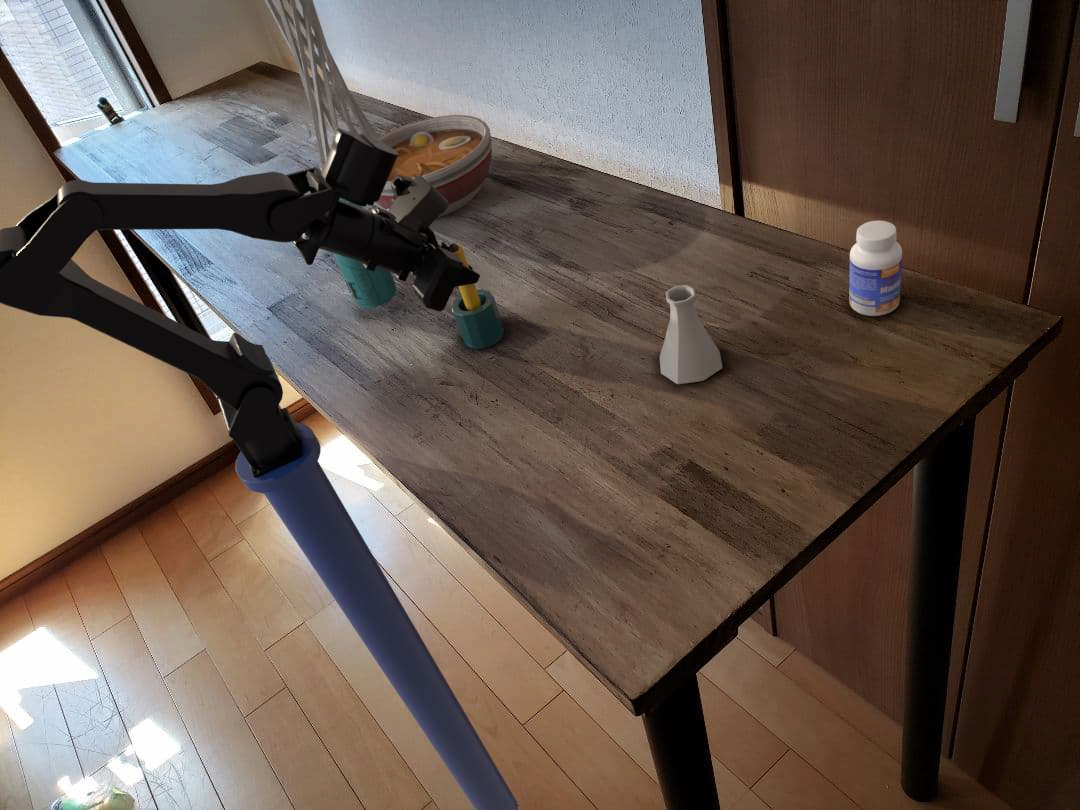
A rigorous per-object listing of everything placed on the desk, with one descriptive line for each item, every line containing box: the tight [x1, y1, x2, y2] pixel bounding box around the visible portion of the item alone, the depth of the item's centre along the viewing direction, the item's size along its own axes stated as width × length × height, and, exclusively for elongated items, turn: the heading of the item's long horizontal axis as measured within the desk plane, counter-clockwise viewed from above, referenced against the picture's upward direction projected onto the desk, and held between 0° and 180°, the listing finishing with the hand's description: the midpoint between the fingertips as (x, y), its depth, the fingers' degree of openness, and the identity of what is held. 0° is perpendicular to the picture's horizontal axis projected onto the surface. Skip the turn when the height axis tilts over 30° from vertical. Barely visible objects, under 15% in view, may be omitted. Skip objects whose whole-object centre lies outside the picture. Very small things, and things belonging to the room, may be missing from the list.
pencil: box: [448, 242, 482, 311], centre depth 104 cm, size 2×2×12 cm
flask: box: [659, 284, 723, 385], centre depth 93 cm, size 7×7×10 cm
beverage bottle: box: [332, 198, 397, 309], centre depth 115 cm, size 6×7×20 cm
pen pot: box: [450, 289, 505, 350], centre depth 108 cm, size 5×5×6 cm
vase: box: [263, 0, 380, 172], centre depth 153 cm, size 14×13×35 cm
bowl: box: [375, 114, 493, 219], centre depth 138 cm, size 23×23×10 cm
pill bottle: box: [848, 220, 903, 317], centre depth 93 cm, size 5×5×10 cm
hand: (474, 275), depth 104 cm, fingers closed on pencil, 2 cm apart
